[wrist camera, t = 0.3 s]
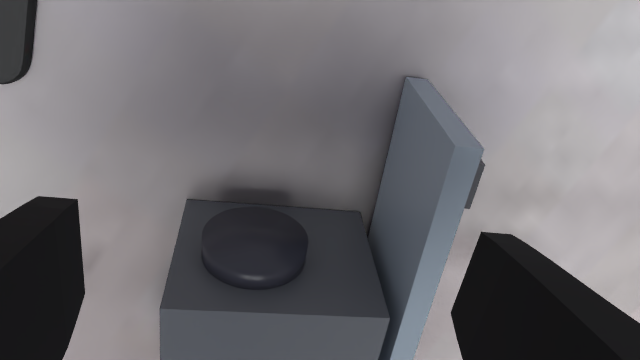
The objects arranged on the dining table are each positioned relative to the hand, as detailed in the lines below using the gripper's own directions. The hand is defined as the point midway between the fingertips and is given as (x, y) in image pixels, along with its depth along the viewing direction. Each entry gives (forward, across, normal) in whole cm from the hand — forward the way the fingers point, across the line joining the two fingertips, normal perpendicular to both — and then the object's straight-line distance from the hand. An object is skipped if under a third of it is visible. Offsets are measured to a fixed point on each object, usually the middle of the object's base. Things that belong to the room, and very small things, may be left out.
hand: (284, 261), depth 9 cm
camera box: (+10, -1, +10) cm, 14 cm away
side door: (+10, -5, +7) cm, 13 cm away
